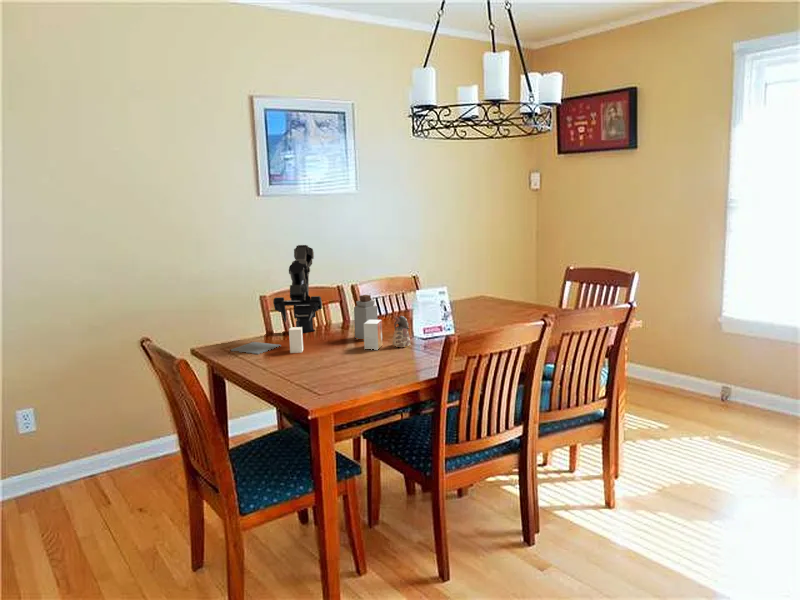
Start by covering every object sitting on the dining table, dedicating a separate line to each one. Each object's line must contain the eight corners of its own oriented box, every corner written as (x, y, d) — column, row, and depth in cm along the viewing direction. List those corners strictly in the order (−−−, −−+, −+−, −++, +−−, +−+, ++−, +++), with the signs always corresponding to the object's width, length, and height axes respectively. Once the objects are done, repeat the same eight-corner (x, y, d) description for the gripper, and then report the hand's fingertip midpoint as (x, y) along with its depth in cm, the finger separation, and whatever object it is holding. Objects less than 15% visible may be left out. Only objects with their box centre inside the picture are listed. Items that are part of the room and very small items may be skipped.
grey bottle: (378, 337, 263) (376, 295, 260) (367, 341, 258) (365, 297, 255) (366, 335, 267) (364, 293, 264) (355, 338, 262) (353, 296, 259)
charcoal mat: (253, 342, 259) (253, 341, 259) (281, 346, 253) (281, 344, 253) (229, 350, 247) (229, 349, 247) (258, 354, 241) (258, 353, 241)
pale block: (291, 350, 246) (290, 327, 245) (303, 349, 247) (302, 327, 245) (290, 353, 242) (288, 330, 240) (302, 352, 242) (300, 329, 241)
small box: (378, 350, 242) (377, 323, 240) (364, 350, 243) (363, 323, 242) (383, 345, 250) (382, 319, 248) (369, 345, 251) (368, 319, 249)
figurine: (412, 347, 246) (412, 317, 244) (394, 348, 245) (394, 318, 243) (408, 343, 253) (408, 313, 251) (391, 344, 252) (390, 314, 250)
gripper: (272, 277, 250) (269, 310, 241) (320, 276, 251) (319, 308, 242) (276, 294, 259) (274, 326, 250) (322, 292, 260) (321, 324, 251)
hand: (296, 320), depth 248 cm, fingers open, 9 cm apart
